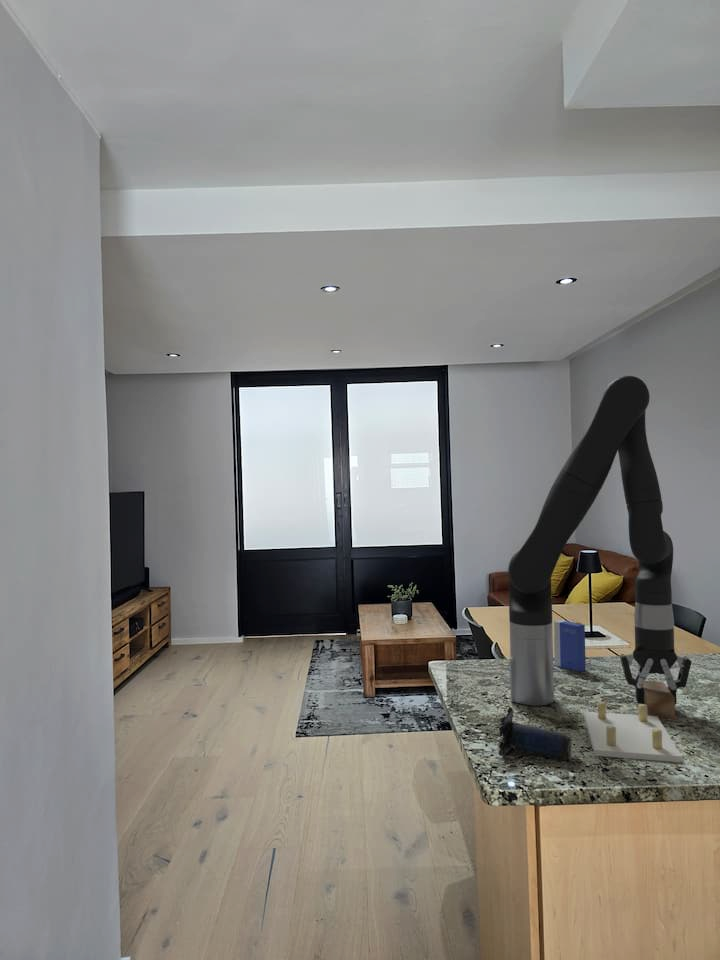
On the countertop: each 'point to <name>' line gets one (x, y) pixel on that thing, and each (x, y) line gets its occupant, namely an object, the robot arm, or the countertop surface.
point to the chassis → (629, 735)
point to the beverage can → (533, 739)
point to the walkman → (569, 645)
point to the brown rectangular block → (659, 700)
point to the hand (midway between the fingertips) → (655, 705)
